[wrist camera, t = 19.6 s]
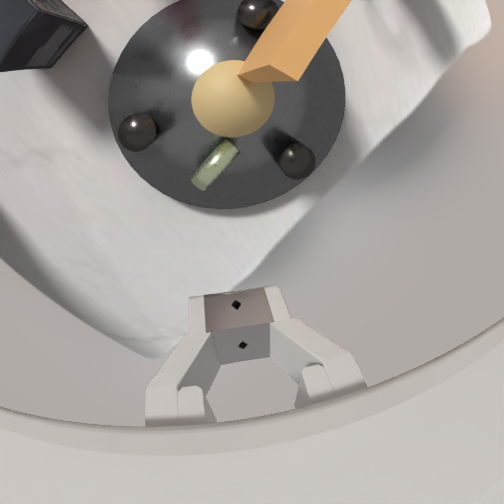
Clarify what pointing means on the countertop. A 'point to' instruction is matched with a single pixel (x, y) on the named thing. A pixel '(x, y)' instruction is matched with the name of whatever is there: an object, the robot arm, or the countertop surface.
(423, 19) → the countertop surface
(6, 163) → the countertop surface
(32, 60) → the small box
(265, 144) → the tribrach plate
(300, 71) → the tan slab with dome
